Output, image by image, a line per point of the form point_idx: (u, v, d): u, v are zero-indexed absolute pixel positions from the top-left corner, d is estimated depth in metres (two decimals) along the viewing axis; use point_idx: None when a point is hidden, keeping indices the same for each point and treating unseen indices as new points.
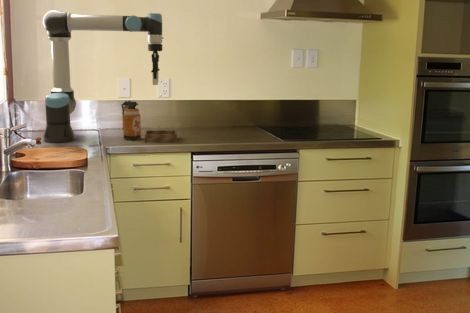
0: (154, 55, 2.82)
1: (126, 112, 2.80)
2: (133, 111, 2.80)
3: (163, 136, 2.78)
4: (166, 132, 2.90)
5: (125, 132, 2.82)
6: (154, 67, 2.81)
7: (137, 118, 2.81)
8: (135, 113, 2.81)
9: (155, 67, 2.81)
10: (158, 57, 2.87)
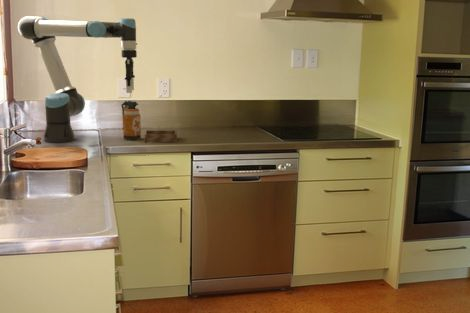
0: (127, 62, 2.72)
1: (126, 112, 2.80)
2: (133, 111, 2.80)
3: (163, 136, 2.78)
4: (166, 132, 2.90)
5: (125, 132, 2.82)
6: (127, 74, 2.70)
7: (137, 118, 2.81)
8: (135, 113, 2.81)
9: (128, 74, 2.71)
10: (132, 64, 2.76)
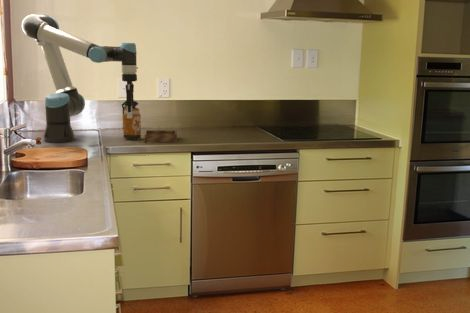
0: (128, 88, 2.74)
1: (126, 111, 2.80)
2: (133, 110, 2.80)
3: (163, 136, 2.78)
4: (166, 132, 2.90)
5: (125, 131, 2.82)
6: (128, 101, 2.75)
7: (137, 117, 2.81)
8: (135, 112, 2.81)
9: (129, 101, 2.75)
10: (132, 88, 2.79)
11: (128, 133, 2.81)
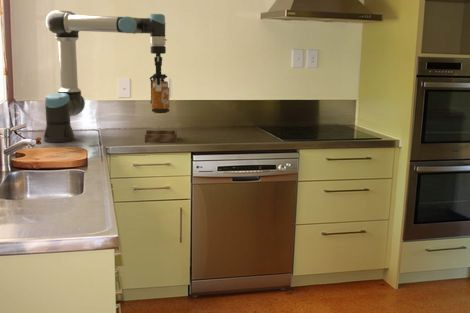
0: (157, 59, 2.69)
1: (155, 84, 2.75)
2: (162, 83, 2.75)
3: (163, 136, 2.78)
4: (166, 132, 2.90)
5: (154, 105, 2.77)
6: (157, 73, 2.70)
7: (166, 90, 2.76)
8: (164, 85, 2.76)
9: (158, 73, 2.70)
10: (161, 60, 2.74)
11: (157, 106, 2.76)
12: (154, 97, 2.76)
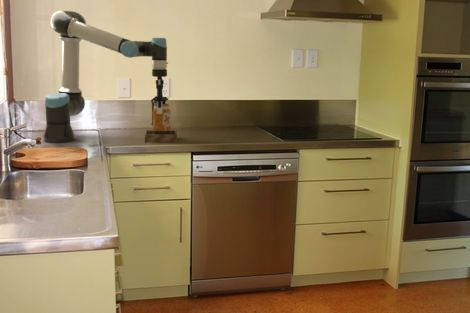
0: (158, 83, 2.72)
1: (156, 107, 2.78)
2: (163, 106, 2.78)
3: (163, 136, 2.78)
4: None
5: (155, 127, 2.80)
6: (159, 96, 2.72)
7: (167, 113, 2.79)
8: (165, 108, 2.78)
9: (160, 96, 2.72)
10: (162, 83, 2.77)
11: (158, 129, 2.79)
12: (155, 119, 2.79)
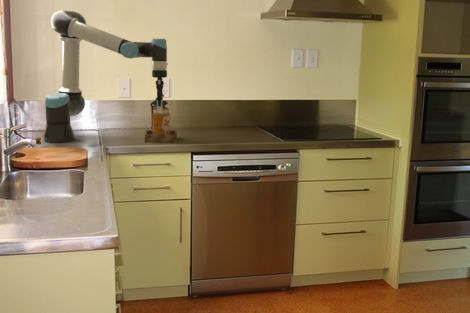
0: (158, 82, 2.72)
1: (156, 111, 2.78)
2: (163, 110, 2.78)
3: (163, 136, 2.78)
4: None
5: (155, 131, 2.80)
6: (158, 95, 2.70)
7: (167, 117, 2.79)
8: (165, 112, 2.79)
9: (159, 95, 2.70)
10: (162, 84, 2.76)
11: (158, 133, 2.79)
12: (155, 123, 2.79)
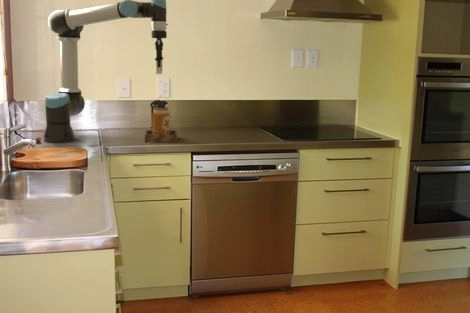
0: (158, 42, 2.67)
1: (156, 111, 2.78)
2: (163, 110, 2.78)
3: (163, 136, 2.78)
4: None
5: (155, 131, 2.80)
6: (158, 55, 2.66)
7: (167, 117, 2.79)
8: (165, 112, 2.79)
9: (159, 55, 2.66)
10: (162, 44, 2.72)
11: (158, 133, 2.79)
12: (155, 124, 2.79)
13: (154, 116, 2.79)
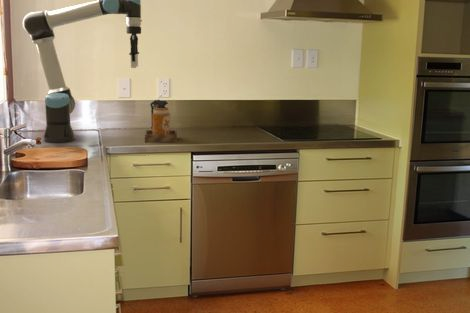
0: (132, 37, 2.80)
1: (156, 111, 2.78)
2: (163, 110, 2.78)
3: (163, 136, 2.78)
4: None
5: (155, 131, 2.80)
6: (132, 49, 2.79)
7: (167, 117, 2.79)
8: (165, 112, 2.79)
9: (133, 49, 2.79)
10: (137, 40, 2.85)
11: (158, 133, 2.79)
12: (155, 123, 2.79)
13: (154, 116, 2.79)
